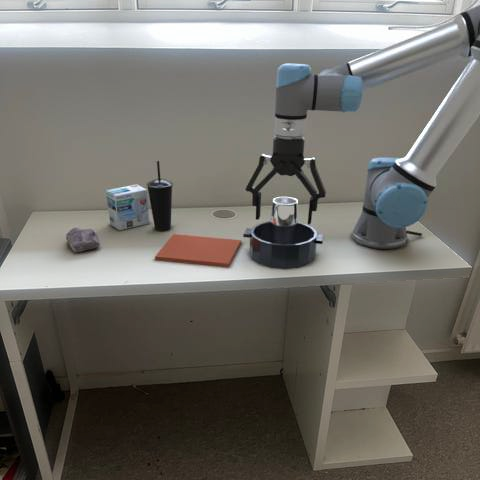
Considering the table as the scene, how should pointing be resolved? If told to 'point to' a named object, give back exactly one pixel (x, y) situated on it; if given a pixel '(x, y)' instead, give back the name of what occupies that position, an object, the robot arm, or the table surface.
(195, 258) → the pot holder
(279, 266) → the pot
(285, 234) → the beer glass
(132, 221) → the light bulb box
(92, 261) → the table surface
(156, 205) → the drinking cup
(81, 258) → the table surface
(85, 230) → the rock
